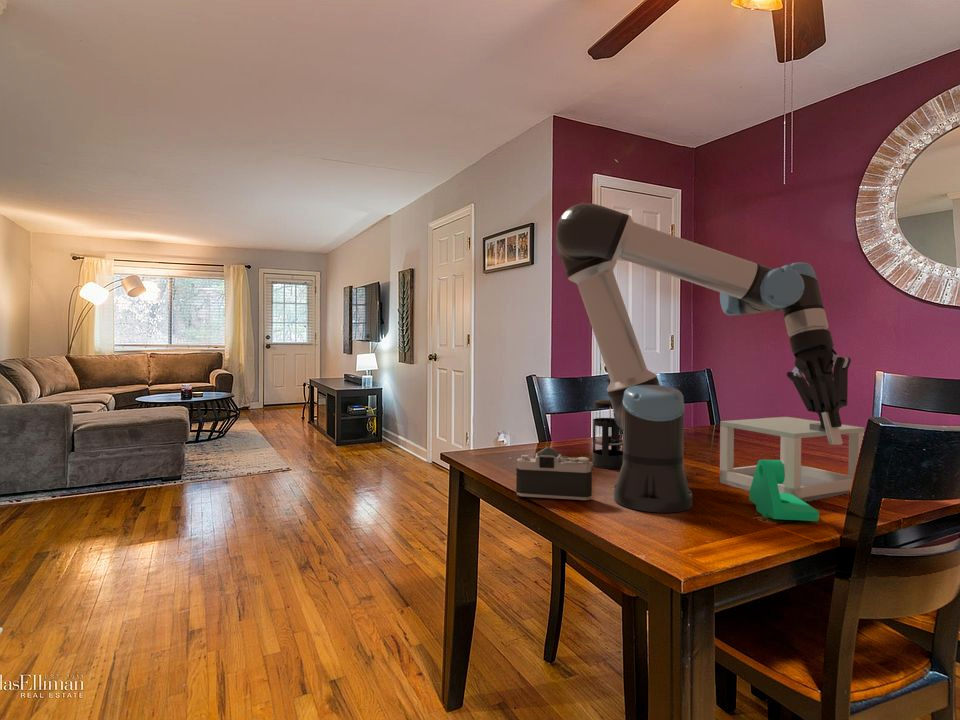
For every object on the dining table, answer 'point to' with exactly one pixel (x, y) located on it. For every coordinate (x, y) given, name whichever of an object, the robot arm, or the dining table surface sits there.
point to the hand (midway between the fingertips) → (835, 444)
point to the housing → (791, 469)
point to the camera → (554, 476)
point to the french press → (607, 439)
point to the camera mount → (777, 494)
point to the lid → (787, 427)
